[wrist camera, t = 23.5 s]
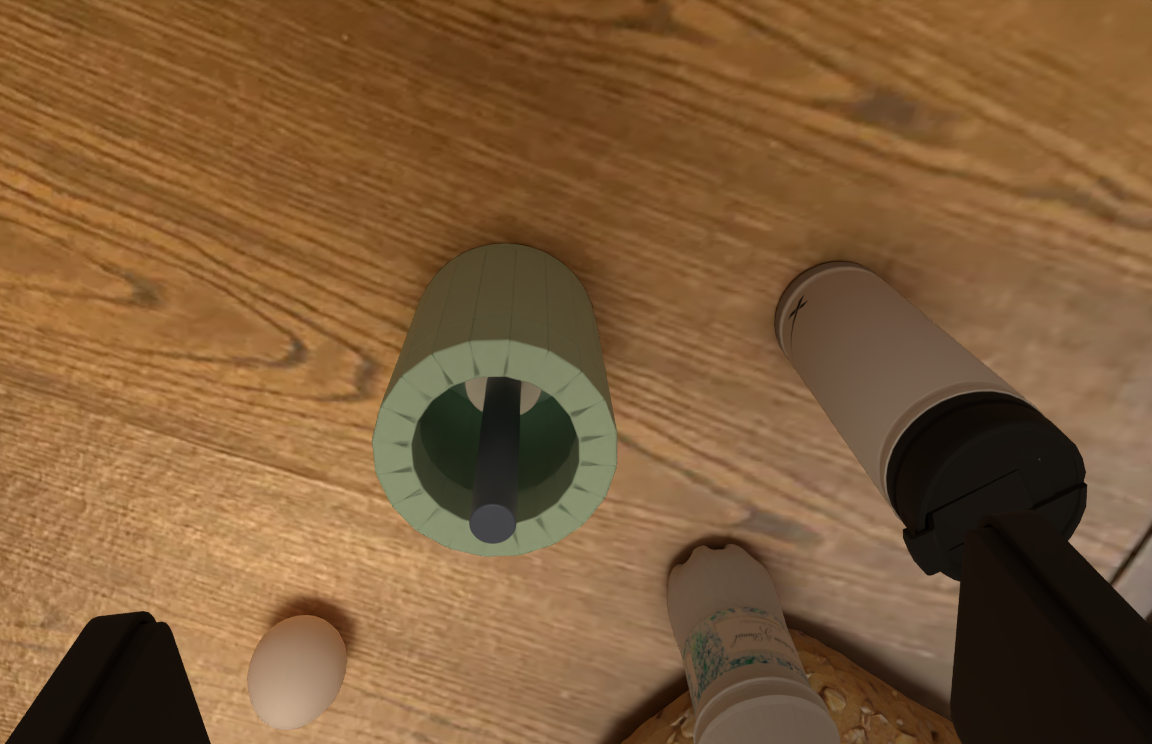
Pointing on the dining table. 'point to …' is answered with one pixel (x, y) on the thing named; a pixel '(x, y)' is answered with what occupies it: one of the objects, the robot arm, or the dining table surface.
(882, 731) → the bread
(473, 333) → the cup
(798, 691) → the bottle
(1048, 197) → the dining table surface
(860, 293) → the travel mug
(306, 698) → the egg
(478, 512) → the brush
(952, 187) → the dining table surface
